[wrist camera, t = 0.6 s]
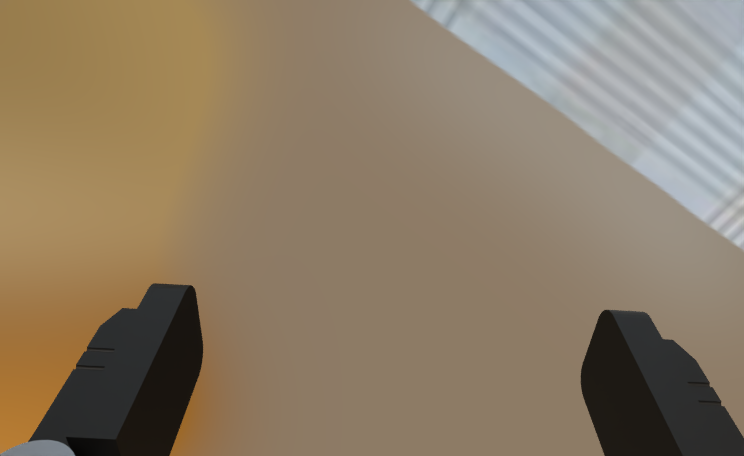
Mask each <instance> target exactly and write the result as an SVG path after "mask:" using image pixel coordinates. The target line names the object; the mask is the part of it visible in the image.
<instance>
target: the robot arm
mask: <svg viewBox="0 0 744 456" xmlns="http://www.w3.org/2000/svg"><path fill="white" fill-rule="evenodd" d="M202 358H203V341H202V333H201V327H200V319H199V312H198V305H197V298H196V292H195V289H194V287H193V286H191V285H173V284H152V285H151V286H150V287H149V289H148V291H147V292H146V294H145V296H144V298H143V299H142V301H141V303H140V305H139V307H138V308H137V309H129V308H122V309H121V310H120V311H119V312H117V313H116V314H115V315H113V316H112V317H111V318H110V319H109V320H107V321H106V322H105V323H103V324H102V325H101V326H100V327H99V329H98V330H97V332H96V334H95V335H94V337H93V339H92V340H91V342H90V343H89V345H88V347H87V351H86V352H84V353H83V355H82V356H81V358H80V360H79V361H78V363H77V364H76V369H75V370H73V371H72V372H71V374H70V376H69V377H68V379H67V381H66V382H65V384H64V386H63V387H62V389H61V390H60V392H59V393H58V395H57V397H56V398H55V400H54V402H53V403H52V405H51V406H50V408H49V410H48V411H47V413H46V415H45V416H44V418H43V419H42V421H41V423H40V424H39V426H38V427H37V429H36V431H35V432H34V434H33V435H32V437H31V438H30V440H29V441H28V442H27V443H24V444H21V445H18V446H15V447H13V448H11V449H9V450H7V451H5V452H3V453H2V454H0V456H169V455H170V453H171V450H172V447H173V444H174V442H175V439H176V436H177V434H178V431H179V428H180V425H181V423H182V420H183V417H184V414H185V412H186V409H187V406H188V404H189V401H190V398H191V395H192V393H193V390H194V387H195V384H196V382H197V379H198V376H199V373H200V370H201V365H202ZM581 388H582V394H583V397H584V400H585V403H586V406H587V408H588V411H589V414H590V417H591V419H592V422H593V425H594V427H595V430H596V433H597V436H598V438H599V441H600V444H601V447H602V449H603V452H604V455H605V456H744V438H743V436H742V434H741V433H740V431H739V430H738V428H737V427H736V425H735V423H734V421H733V420H732V418H731V417H730V415H729V413H728V412H727V410H726V408H725V407H723V406H721V400H720V399H719V397H718V395H717V394H716V392H715V391H714V389H713V388H712V387H710V386H709V381H708V379H707V378H706V376H705V374H704V373H703V371H702V370H701V368H700V366H699V365H698V363H697V361H696V360H695V359H694V358H693V357H692V356H690V355H689V354H688V353H687V352H686V351H685V350H684V349H683V348H681V347H680V346H679V345H678V344H677V343H676V342H674V341H673V340H665V339H662V337H661V335H660V334H659V332H658V330H657V329H656V327H655V325H654V323H653V322H652V320H651V318H650V317H649V315H648V314H647V313H645V312H636V311H618V310H604V311H603V312H602V313H601V314H600V316H599V319H598V321H597V324H596V327H595V330H594V333H593V336H592V339H591V341H590V345H589V347H588V350H587V353H586V356H585V359H584V362H583V365H582V369H581Z"/></svg>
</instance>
